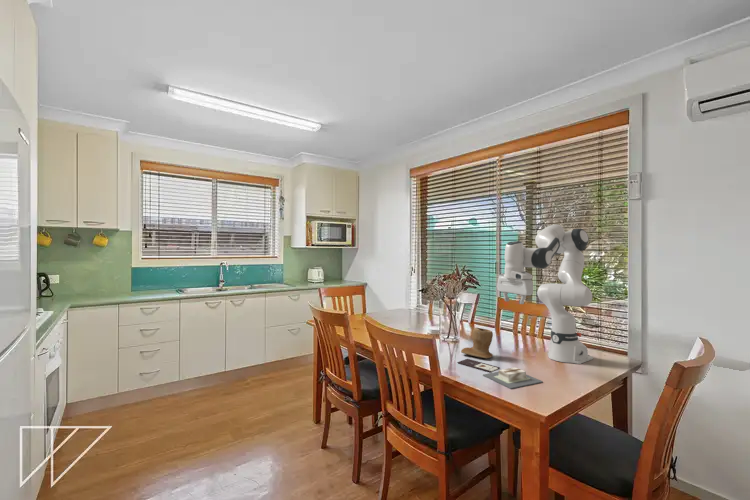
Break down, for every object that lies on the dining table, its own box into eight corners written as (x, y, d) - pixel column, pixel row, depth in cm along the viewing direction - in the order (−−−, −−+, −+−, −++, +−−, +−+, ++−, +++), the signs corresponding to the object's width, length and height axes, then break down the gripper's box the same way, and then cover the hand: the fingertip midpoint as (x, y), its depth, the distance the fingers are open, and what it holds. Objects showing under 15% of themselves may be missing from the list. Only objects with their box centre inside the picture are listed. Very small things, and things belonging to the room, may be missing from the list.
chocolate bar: (467, 358, 187) (499, 367, 174) (467, 360, 187) (499, 369, 174) (457, 362, 181) (489, 371, 168) (457, 364, 181) (489, 373, 168)
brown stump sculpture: (497, 356, 192) (497, 328, 192) (486, 361, 184) (486, 332, 184) (471, 350, 203) (471, 324, 203) (460, 355, 194) (460, 327, 194)
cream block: (508, 381, 155) (508, 374, 155) (498, 376, 160) (498, 369, 160) (526, 378, 159) (526, 371, 159) (515, 373, 164) (515, 366, 164)
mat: (513, 370, 171) (513, 368, 171) (542, 382, 155) (542, 381, 155) (482, 375, 164) (482, 374, 164) (510, 389, 148) (510, 387, 148)
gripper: (494, 273, 185) (494, 300, 185) (525, 276, 166) (525, 306, 166) (503, 272, 187) (503, 299, 188) (535, 275, 169) (535, 305, 169)
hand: (514, 302), depth 177 cm, fingers open, 8 cm apart
